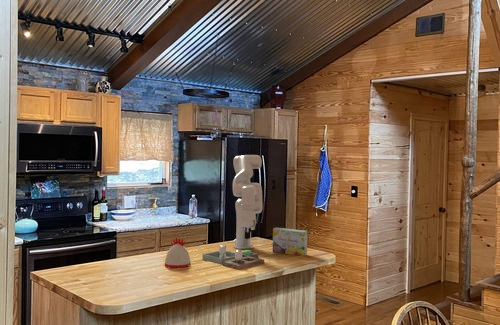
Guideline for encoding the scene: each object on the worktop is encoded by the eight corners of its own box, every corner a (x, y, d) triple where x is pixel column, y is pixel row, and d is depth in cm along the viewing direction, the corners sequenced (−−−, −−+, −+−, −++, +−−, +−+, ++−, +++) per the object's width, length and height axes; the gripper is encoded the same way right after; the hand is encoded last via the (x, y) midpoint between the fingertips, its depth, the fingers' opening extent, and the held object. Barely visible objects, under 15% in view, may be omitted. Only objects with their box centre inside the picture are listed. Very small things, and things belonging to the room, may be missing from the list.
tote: (202, 260, 276) (202, 254, 276) (223, 256, 288) (223, 250, 288) (221, 265, 265) (221, 259, 265) (242, 260, 276) (242, 254, 276)
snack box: (272, 252, 300) (272, 228, 299) (275, 251, 305) (276, 227, 304) (304, 256, 290) (304, 231, 289) (307, 254, 295) (308, 230, 294)
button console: (236, 258, 282) (236, 253, 282) (247, 256, 288) (247, 251, 288) (247, 261, 276) (247, 256, 276) (258, 258, 282) (258, 253, 282)
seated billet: (233, 265, 261) (233, 250, 261) (238, 264, 264) (238, 249, 264) (238, 266, 259) (238, 251, 258) (243, 265, 262) (243, 250, 261)
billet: (217, 259, 276) (217, 245, 276) (222, 258, 279) (222, 244, 279) (222, 260, 273) (222, 246, 273) (227, 259, 276) (227, 245, 276)
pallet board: (222, 267, 261) (222, 261, 261) (248, 261, 276) (248, 256, 276) (238, 271, 253) (238, 265, 253) (264, 265, 267) (264, 259, 267)
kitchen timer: (185, 269, 256) (185, 240, 256) (160, 267, 259) (161, 239, 259) (193, 263, 270) (194, 236, 270) (170, 261, 273) (170, 235, 272)
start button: (241, 257, 282) (242, 250, 282) (247, 256, 285) (247, 249, 285) (247, 258, 279) (247, 251, 279) (252, 257, 282) (252, 250, 282)
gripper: (234, 206, 284) (233, 237, 285) (252, 209, 273) (252, 241, 275) (243, 205, 289) (242, 235, 291) (261, 208, 279) (261, 239, 280)
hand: (247, 238), depth 283 cm, fingers closed
